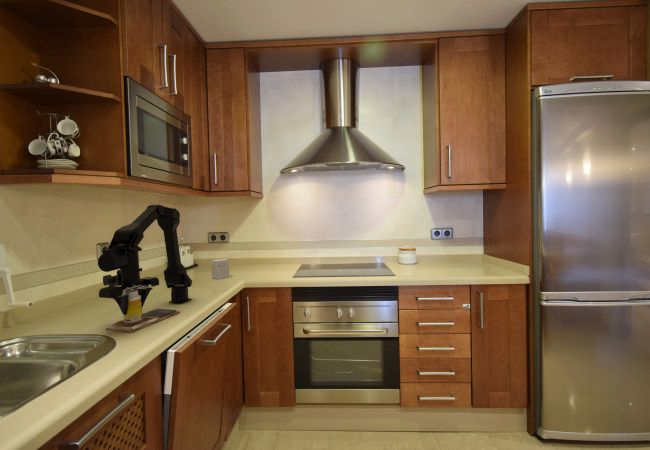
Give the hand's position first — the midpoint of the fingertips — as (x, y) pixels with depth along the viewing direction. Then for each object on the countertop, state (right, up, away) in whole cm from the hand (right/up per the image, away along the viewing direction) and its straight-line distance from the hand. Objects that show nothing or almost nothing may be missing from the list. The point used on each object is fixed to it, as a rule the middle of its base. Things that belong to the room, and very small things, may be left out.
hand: (132, 312), depth 114 cm
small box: (+6, -1, +78) cm, 78 cm away
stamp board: (+2, -4, +5) cm, 7 cm away
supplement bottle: (0, -3, 0) cm, 3 cm away
